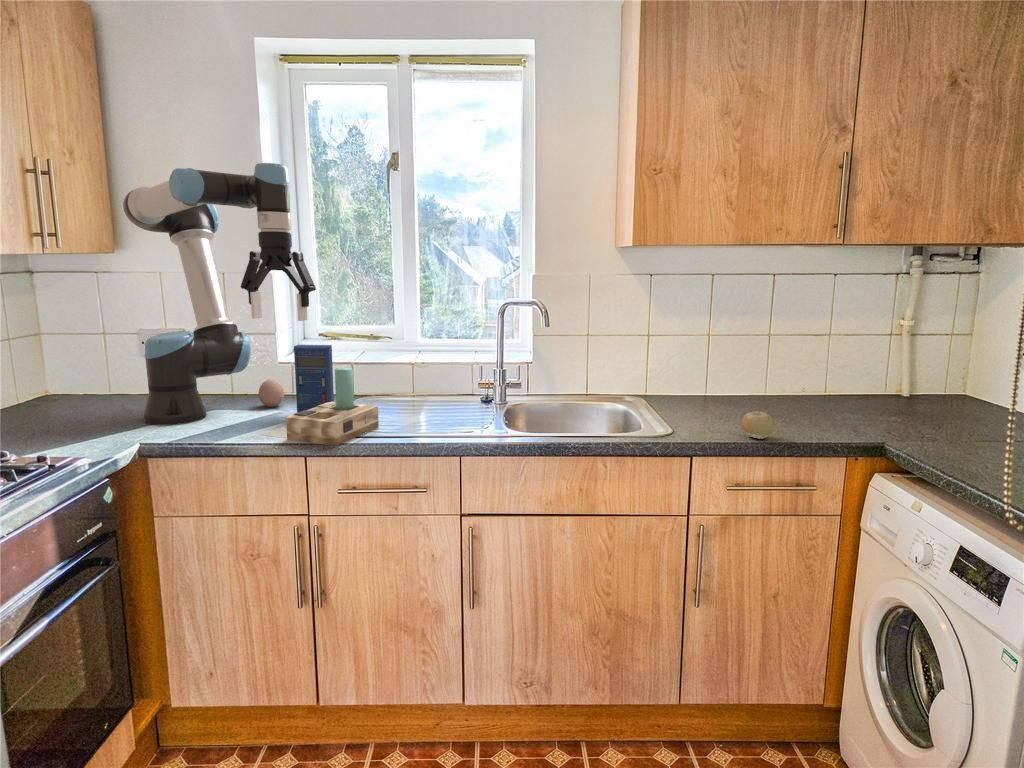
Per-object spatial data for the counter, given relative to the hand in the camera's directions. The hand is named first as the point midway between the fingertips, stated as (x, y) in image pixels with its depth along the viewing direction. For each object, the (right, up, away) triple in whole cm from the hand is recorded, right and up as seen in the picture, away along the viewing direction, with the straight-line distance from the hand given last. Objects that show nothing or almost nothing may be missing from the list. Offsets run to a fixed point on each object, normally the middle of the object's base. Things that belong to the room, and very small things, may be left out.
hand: (279, 319), depth 159 cm
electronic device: (+2, -25, +22) cm, 34 cm away
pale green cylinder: (+14, -26, +8) cm, 31 cm away
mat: (0, -29, +3) cm, 29 cm away
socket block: (+13, -29, +4) cm, 32 cm away
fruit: (+120, -30, +6) cm, 124 cm away
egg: (-14, -23, +33) cm, 42 cm away
